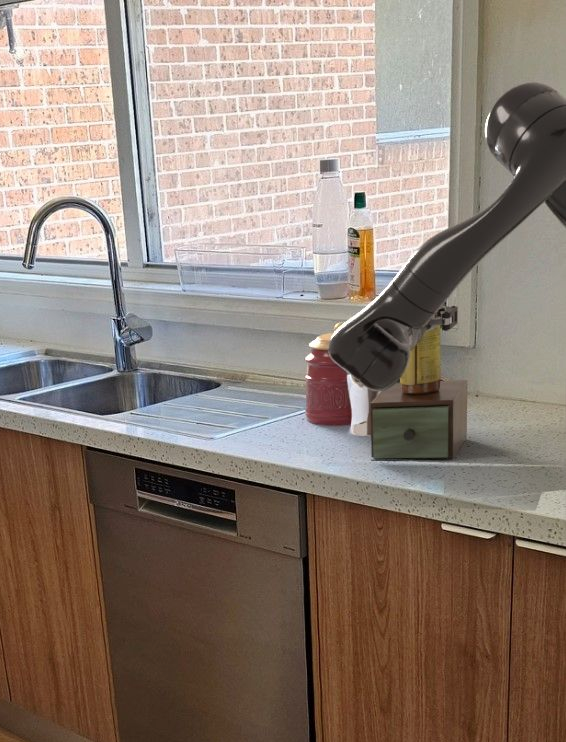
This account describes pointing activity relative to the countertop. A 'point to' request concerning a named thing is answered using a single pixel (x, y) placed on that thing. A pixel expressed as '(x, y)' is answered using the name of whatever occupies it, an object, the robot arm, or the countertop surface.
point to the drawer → (411, 432)
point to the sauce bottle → (424, 365)
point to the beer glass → (360, 406)
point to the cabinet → (446, 395)
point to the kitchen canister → (326, 386)
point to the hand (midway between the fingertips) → (414, 312)
